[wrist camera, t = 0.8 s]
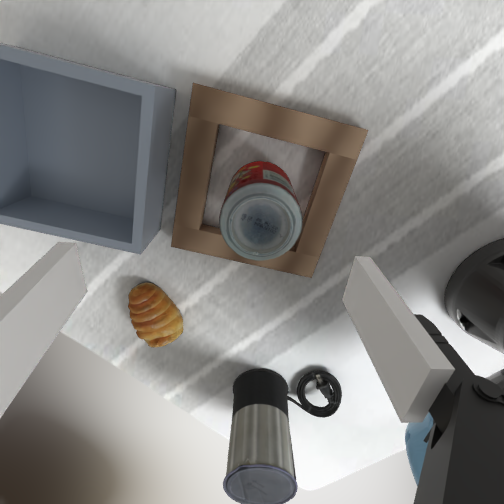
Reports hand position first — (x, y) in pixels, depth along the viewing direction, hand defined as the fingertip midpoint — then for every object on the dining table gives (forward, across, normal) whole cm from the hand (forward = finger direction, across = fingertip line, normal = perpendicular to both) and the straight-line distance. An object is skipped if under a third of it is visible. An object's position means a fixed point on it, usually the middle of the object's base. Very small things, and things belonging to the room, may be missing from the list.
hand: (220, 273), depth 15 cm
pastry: (+22, +9, +22) cm, 33 cm away
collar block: (+22, -4, +3) cm, 23 cm away
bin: (+24, +15, 0) cm, 28 cm away
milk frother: (+20, -11, +35) cm, 42 cm away
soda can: (+22, -4, +3) cm, 23 cm away
